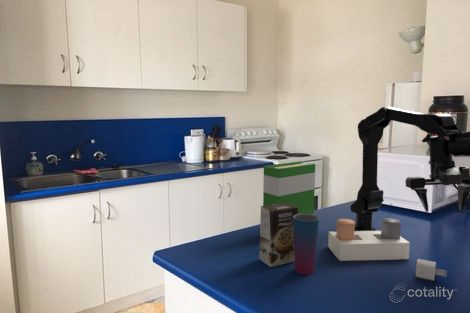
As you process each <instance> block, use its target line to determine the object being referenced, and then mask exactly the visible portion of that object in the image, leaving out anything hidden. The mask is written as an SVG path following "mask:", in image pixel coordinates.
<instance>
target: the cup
mask: <svg viewBox="0 0 470 313" xmlns="http://www.w3.org/2000/svg"><path fill="white" fill-rule="evenodd" d="M319 221H320V217H319V216H318V215H316V214H314V215H313V214H296V215H294V216H293V228H294V254H295V262H294V271H295V272H296V273H297V274H300V275H305V276H306V275H312V274H314V272H315V263H316V255H317V254H316V252H317V243H318V241H317V240H318V234H319V232H318V231H319V223H320V222H319Z"/></svg>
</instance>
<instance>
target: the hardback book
mask: <svg viewBox="0 0 470 313" xmlns="http://www.w3.org/2000/svg"><path fill="white" fill-rule="evenodd" d="M315 182H316V164H315V163H310V164H309V163H308V164H304V163H303V162H302V161H301V160H300V161H292V162H285V163H278V164H271V165H264V166H263V190H262V192H263V195H262V196H263V197H262V198H263V200H262V201H263V202H262V206H266V205H273V204H281V203H287V204H290V205H293V206H296V207H298V214H313V215H315V190H316V189H315Z"/></svg>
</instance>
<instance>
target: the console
mask: <svg viewBox="0 0 470 313" xmlns="http://www.w3.org/2000/svg"><path fill="white" fill-rule="evenodd" d="M336 232H337V231H328V243H327V244H328V245H327V247H328V248H329V249H330V251H331V252H332V253H333V255H334V256H335V257H336V258H337V260H338V261H341V262H342V261H344V262H345V261H347V262H348V261H386V260H387V261H388V260H393V261H394V260H409V259H410V246H411V245H410V244H411V243H410V241H408V240H407V239H405V238H404V237H402V236H401V235H400V239H384V238H383V237H381V230H376V231H358V230H354V240H339V239H338V238H337V236H336Z"/></svg>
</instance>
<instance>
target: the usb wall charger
mask: <svg viewBox="0 0 470 313" xmlns="http://www.w3.org/2000/svg"><path fill="white" fill-rule="evenodd" d="M416 260H417V261H416V265H415V266H416V268H415V278H419V279H424V280H428V281H433V282H435V279H436V278H435V277H436V276H442V277H447V272H448V271H447V270H445V269H440V268H436V266H437V262H436V261H430V260H427V259H421V258H417V259H416Z"/></svg>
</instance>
